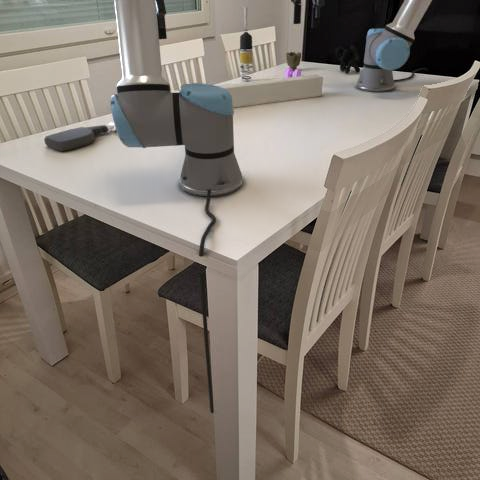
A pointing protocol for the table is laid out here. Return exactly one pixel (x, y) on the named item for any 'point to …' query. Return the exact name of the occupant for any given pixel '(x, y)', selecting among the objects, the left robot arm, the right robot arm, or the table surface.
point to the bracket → (290, 73)
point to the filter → (246, 48)
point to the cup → (293, 60)
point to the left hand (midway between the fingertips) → (157, 36)
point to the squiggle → (348, 59)
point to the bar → (273, 90)
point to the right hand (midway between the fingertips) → (305, 25)
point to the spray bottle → (76, 137)
